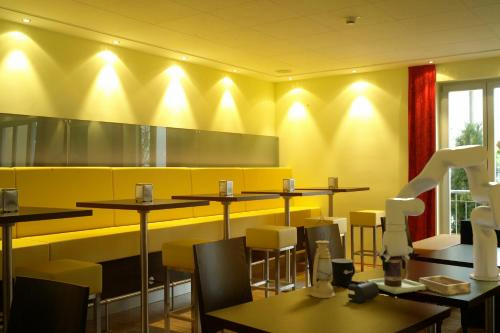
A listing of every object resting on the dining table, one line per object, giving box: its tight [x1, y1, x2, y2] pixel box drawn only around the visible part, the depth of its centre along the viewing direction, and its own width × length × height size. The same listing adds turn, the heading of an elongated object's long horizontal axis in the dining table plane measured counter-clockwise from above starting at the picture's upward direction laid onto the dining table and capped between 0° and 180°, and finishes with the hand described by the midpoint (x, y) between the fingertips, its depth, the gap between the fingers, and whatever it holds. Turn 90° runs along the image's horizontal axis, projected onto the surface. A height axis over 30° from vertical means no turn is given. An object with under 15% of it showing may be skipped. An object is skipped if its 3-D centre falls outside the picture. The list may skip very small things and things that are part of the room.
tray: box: [365, 277, 428, 295], centre depth 205 cm, size 16×18×2 cm
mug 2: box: [383, 256, 409, 287], centre depth 205 cm, size 10×7×12 cm
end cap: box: [347, 281, 380, 305], centre depth 183 cm, size 10×7×7 cm
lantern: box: [310, 216, 336, 299], centre depth 193 cm, size 12×10×30 cm
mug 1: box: [331, 258, 356, 287], centre depth 211 cm, size 12×9×10 cm
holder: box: [418, 275, 471, 296], centre depth 201 cm, size 12×15×4 cm
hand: (395, 270), depth 205 cm, fingers open, 9 cm apart
